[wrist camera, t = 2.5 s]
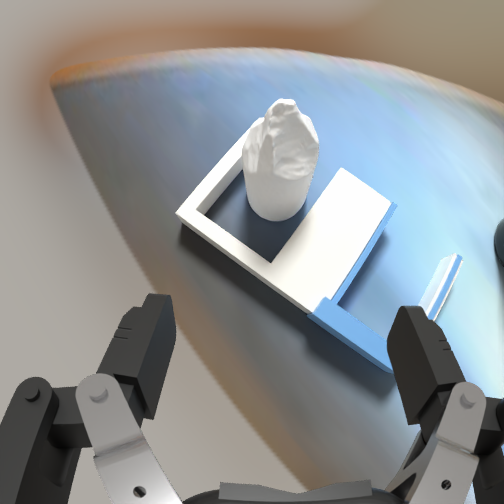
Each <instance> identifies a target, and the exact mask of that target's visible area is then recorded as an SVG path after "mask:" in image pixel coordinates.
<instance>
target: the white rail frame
mask: <svg viewBox="0 0 504 504" xmlns="http://www.w3.org/2000/svg"><path fill="white" fill-rule="evenodd" d="M259 119H260V118H259ZM259 119H258V120H259ZM249 130H250V128H249ZM249 130H248V131H247V132H246V133H245V134H244V135H243V136H242V137H241V138H240V139H239V140H238V141H237V143H236V144H235V145H234V146H233V147H232V148H231V149H230V150H229V151H228V152H227V154H226V155H225V156H224V157H223V158H222V159H221V160H220V161H219V162H218V164H217V165H216V166H215V167H214V168H213V169H212V170H211V172H210V173H209V174H208V175H207V176H206V177H205V178H204V180H203V181H202V182H201V183H200V184H199V185H198V187H197V188H196V189H195V190H194V191H193V192H192V194H191V195H190V196H189V197H188V198H187V200H186V201H185V202H184V203H183V204H182V206H181V207H180V208H179V209H178V210H177V212H176V214H177V216H178V217H179V219H180V220H181V222H182V223H183V224H185V225H186V226H187V227H189V228H190V229H191V230H193V231H194V232H196V233H197V234H198V235H200V236H201V237H202V238H204V239H205V240H206V241H208V242H209V243H210V244H212V245H213V246H214V247H216V248H217V249H219V250H220V251H221V252H223V253H224V254H225V255H227V256H228V257H229V258H231V259H232V260H233V261H235V262H236V263H238V264H239V265H240V266H242V267H243V268H244V269H246V270H247V271H249V272H250V273H251V274H253V275H254V276H255V277H257V278H258V279H260V280H261V281H262V282H264V283H265V284H266V285H268V286H269V287H271V288H272V289H273V290H275V291H276V292H277V293H279V294H280V295H282V296H283V297H284V298H286V299H287V300H289V301H290V302H291V303H293V304H294V305H295V306H297V307H298V308H300V309H301V310H302V311H304V312H305V313H307V317H308V318H310V319H311V320H312V321H314V322H315V323H317V324H318V325H319V326H321V327H322V328H324V329H325V330H326V331H328V332H329V333H331V334H332V335H333V336H335V337H336V338H338V339H339V340H341V341H342V342H343V343H345V344H346V345H348V346H349V347H350V348H352V349H353V350H355V351H356V352H358V353H359V354H360V355H362V356H363V357H365V358H366V359H368V360H369V361H370V362H372V363H373V364H375V365H376V366H378V367H379V368H381V369H382V370H383V371H385V372H388V373H392V374H394V372H393V369H392V366H391V363H390V359H389V356H388V353H387V340H385V339H384V338H382V337H381V336H380V335H378V334H377V333H375V332H374V331H373V330H371V329H370V328H369V327H367V326H366V325H364V324H363V323H362V322H360V321H359V320H358V319H356V318H355V317H353V316H352V315H351V314H349V313H348V312H346V311H345V310H344V309H342V308H341V307H340V306H338V305H337V303H338V302H339V300H340V299H341V297H342V296H343V294H344V293H345V291H346V289H347V288H348V286H349V285H350V283H351V282H352V280H353V279H354V277H355V276H356V274H357V272H358V271H359V269H360V268H361V266H362V264H363V263H364V261H365V260H366V258H367V256H368V255H369V253H370V252H371V250H372V248H373V247H374V245H375V243H376V242H377V240H378V238H379V237H380V235H381V233H382V232H383V230H384V228H385V226H386V225H387V223H388V221H389V220H390V218H391V216H392V214H393V213H394V211H395V209H396V207H397V204H395V203H394V202H392V204H391V202H390V201H388V200H387V199H386V198H384V197H383V196H382V195H380V194H379V193H377V192H376V191H375V190H373V189H372V188H370V187H369V186H368V185H366V184H365V183H363V182H362V181H360V180H359V179H358V178H356V177H355V176H353V175H352V174H350V173H349V172H347V171H346V170H344V169H343V168H340V170H339V171H338V172H337V174H336V175H335V177H334V178H333V179H332V181H331V182H330V184H329V185H328V186H327V188H326V189H325V191H324V192H323V193H322V195H321V196H320V197H319V199H318V200H317V202H316V203H315V204H314V206H313V207H312V208H311V210H310V211H309V213H308V214H307V215H306V217H305V218H304V219H303V221H302V222H301V224H300V225H299V226H298V228H297V229H296V230H295V232H294V233H293V235H292V236H291V237H290V239H289V240H288V241H287V243H286V244H285V245H284V247H283V248H282V249H281V251H280V252H279V254H278V255H277V256H276V258H275V259H274V260H273V262H272V263H269V262H268V261H267V260H265V259H264V258H262V257H261V256H260V255H258V254H257V253H255V252H254V251H253V250H251V249H250V248H248V247H247V246H246V245H244V244H243V243H242V242H240V241H239V240H237V239H236V238H235V237H233V236H232V235H230V234H229V233H228V232H226V231H225V230H223V229H222V228H221V227H219V226H218V225H216V224H215V223H214V222H212V221H211V220H209V219H208V218H207V217H205V216H204V214H205V213H206V212H207V211H208V210H209V208H210V207H211V206H212V205H213V204H214V202H215V201H216V200H217V199H218V198H219V196H220V195H221V194H222V193H223V192H224V190H225V189H226V188H227V187H228V186H229V184H230V183H231V182H232V181H233V180H234V178H235V177H236V176H237V175H238V174H239V173H240V171H241V170H242V169H243V167H242V158H241V153H242V146H243V144H244V141H245V139H246V137H247V134H248V132H249ZM390 204H391V205H390ZM389 206H390V207H389ZM388 208H389V209H388ZM387 209H388V211H387ZM386 211H387V212H386ZM385 213H386V214H385ZM384 215H385V216H384ZM383 216H384V217H383ZM382 218H383V219H382ZM381 220H382V221H381ZM380 221H381V223H380ZM379 223H380V224H379ZM378 225H379V226H378ZM377 226H378V228H377ZM376 228H377V229H376ZM375 230H376V231H375ZM374 231H375V233H374ZM373 233H374V234H373ZM372 235H373V236H372ZM371 236H372V237H371ZM370 238H371V239H370ZM369 240H370V241H369ZM368 241H369V242H368ZM367 243H368V244H367ZM366 244H367V246H366ZM365 246H366V247H365ZM364 248H365V249H364ZM363 249H364V250H363ZM362 251H363V252H362ZM361 253H362V254H361ZM360 254H361V255H360ZM359 256H360V257H359ZM358 257H359V258H358ZM357 259H358V260H357ZM356 260H357V262H356ZM355 262H356V263H355ZM462 262H463V260H462V257H461V256H460V255H456V254H455V253H454V254H451V255H449V256H447V257H445V258H443V259H441V261H440V263H439V265H438V267H437V269H436V271H435V273H434V275H433V277H432V279H431V281H430V283H429V285H428V287H427V289H426V291H425V293H424V295H423V297H422V298H421V300H420V302H419V304H418V306H421V307H422V308H423V309H424V311H425V313H426V315H427V317H428V319H429V320H433V321H435V319H436V317H437V315H438V313H439V311H440V310H441V308H442V306H443V304H444V302H445V299H446V297H447V295H448V293H449V291H450V289H451V287H452V285H453V283H454V281H455V278H456V276H457V274H458V272H459V269H460V267H461V265H462ZM354 264H355V265H354ZM353 265H354V266H353ZM352 267H353V268H352ZM351 268H352V269H351ZM350 270H351V271H350ZM349 271H350V272H349ZM348 273H349V274H348ZM347 274H348V276H347ZM346 276H347V277H346ZM345 278H346V279H345ZM344 279H345V280H344ZM343 281H344V282H343ZM342 282H343V283H342ZM341 284H342V285H341ZM340 285H341V286H340ZM339 287H340V288H339ZM338 288H339V289H338ZM337 290H338V291H337ZM336 291H337V292H336ZM335 293H336V294H335ZM334 294H335V295H334ZM333 296H334V297H333ZM332 297H333V298H332ZM331 299H332V300H331Z"/></svg>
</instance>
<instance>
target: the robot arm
mask: <svg viewBox="0 0 504 504" xmlns="http://www.w3.org/2000/svg"><path fill="white" fill-rule="evenodd" d="M175 341H176V324H175V318H174V312H173V305H172V299H171V296H170V295H163V294H151V293H150V294H148V295H147V297H146V299H145V301H144V303H143V305H142V307H133V308H132V309H130V310H129V311H128V312H127V313H126V314H125V315H124V316H123V318H122V320H121V322H120V324H119V326H118V329H117V330H116V332H115V334H114V338H112V340H111V342H110V344H109V347H108V349H107V351H106V353H105V355H104V357H103V360H102V362H101V364H100V366H99V368H98V371H97V372H96V374H93V375H90V376H88V377H86V378H84V379H83V380H82V381H81V382H80V384H79V385H78V386H75V387H62V388H52V387H51V386H50V384H49V383H48V382H47V381H46V380H45V379H43V378H40V377H32V378H28V379H26V380H25V381H23V382H22V383H21V384H20V385H19V386H18V387H17V389H16V391H15V393H14V395H13V397H12V399H11V402H10V404H9V406H8V408H7V410H6V413H5V416H4V417H3V420H2V422H1V424H0V504H68V499H69V495H70V491H71V486H72V482H73V478H74V475H75V471H76V467H77V463H78V459H79V456H80V452H81V449H82V448H87V447H93V449H94V452H95V456H94V463H95V466H96V469H97V471H98V473H99V476H100V478H101V480H102V482H103V485H104V487H105V489H106V491H107V494H108V496H109V498H110V500H111V502H112V504H464V501H465V499H466V496H467V494H468V491H469V488H470V486H471V483H472V482H473V488H474V493H475V499H476V504H504V455H503V452H502V448H501V446H502V445H503V444H504V398H503V399H497V398H490V397H485V395H484V393H483V392H482V390H481V389H480V388H479V387H478V386H476V385H475V384H473V383H470V382H466V380H465V378H464V376H463V373H462V371H461V369H460V367H459V364H458V362H457V360H456V358H455V356H454V354H453V351H451V347H450V345H449V343H448V342H447V339H446V337H445V335H444V333H443V331H442V329H441V328H440V327H439V326H438V325H437V324H436V323H435V322H434V321H433V320H429V319H428V317H427V315H426V313H425V311H424V309H423V308H422V307H421V306H401V307H400V308H399V310H398V312H397V315H396V317H395V320H394V322H393V325H392V327H391V330H390V332H389V335H388V338H387V353H388V356H389V359H390V363H391V366H392V369H393V372H394V376H395V379H396V382H397V386H398V389H399V393H400V396H401V400H402V403H403V407H404V411H405V414H406V418H407V422H408V425H414V424H420V427H421V430H420V431H419V432H418V434H417V436H416V438H415V440H414V442H413V444H412V446H411V448H410V450H409V452H408V454H407V456H406V458H405V460H404V462H403V464H402V466H401V468H400V469H399V471H398V473H397V474H396V476H395V477H394V479H393V480H392V481H391V482H390V483H389V485H388V486H387V487H386V489H385V490H381V489H376V488H371V481H370V480H364V481H355V482H345V483H335V484H332V485H329V486H325V487H322V488H319V489H315V490H311V491H308V492H304V493H298V494H296V493H290V492H286V491H282V490H277V489H273V488H269V487H265V486H261V485H251V484H234V483H223V482H220V489H219V490H212V491H208V492H204V493H200V494H198V495H195V496H193V497H190V498H188V499H186V500H185V501H183V502H182V500H181V499H180V497H179V496H178V494H177V493H176V491H175V489H174V488H173V486H172V485H171V483H170V481H169V480H168V478H167V476H166V475H165V473H164V471H163V470H162V468H161V466H160V464H159V463H158V461H157V459H156V457H155V456H154V454H153V452H152V450H151V448H150V446H149V445H148V443H147V441H146V439H145V437H144V435H143V433H142V431H141V429H140V428H141V425H142V421H143V418H146V419H152V420H153V419H154V416H155V413H156V409H157V405H158V401H159V398H160V394H161V391H162V387H163V383H164V380H165V376H166V373H167V369H168V366H169V362H170V358H171V355H172V352H173V349H174V345H175Z"/></svg>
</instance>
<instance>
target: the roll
mask: <svg viewBox="0 0 504 504" xmlns="http://www.w3.org/2000/svg"><path fill="white" fill-rule="evenodd" d="M318 155H319V141H318V137H317V133H316V132H315V129H314V126H313V124H312V121H311V120H310V118H309V117H307V116H305V115H303V114H301V112H300V111H299V109H298V108H297V106H296V103H295V102H294V101H293V100H288V99H287V100H285V99H279V100H278V101H276V102H275V103H274V104H273V105H272V106H271V107H270V108H269V109H268V111H267V113H266V114H265V117H263V118H260V119H259V120H257V121H255V122H254V123H253V124H252V126H251V127H250V130H249V132H248V134H247V137H246V139H245V141H244V144H243V146H242V153H241V158H242V167H243V172H244V177H245V184H246V190H247V198H248V202H249V204H250V206H251V208H252V209H253V210H254V211H255V213H256V214H258V215H259V216H260V217H261V218H264V219H267V220H270V221H283V220H286V219H289V218H291V217H292V216H294V215H295V214H296V213H297V212H298V211H299V210H300V208H301V207H302V206H303V204H304V202H305V199H306V196H307V193H308V190H309V187H310V184H311V181H312V178H313V173H314V170H315V167H316V164H317V160H318Z"/></svg>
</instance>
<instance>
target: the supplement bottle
mask: <svg viewBox="0 0 504 504" xmlns="http://www.w3.org/2000/svg"><path fill="white" fill-rule="evenodd" d="M495 247H496V252H497V255H498V258H499V260H500V262H501V264H502V265H503V267H504V219H502V220H501V221H500V223H499V224H498V226H497V229H496V233H495Z"/></svg>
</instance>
